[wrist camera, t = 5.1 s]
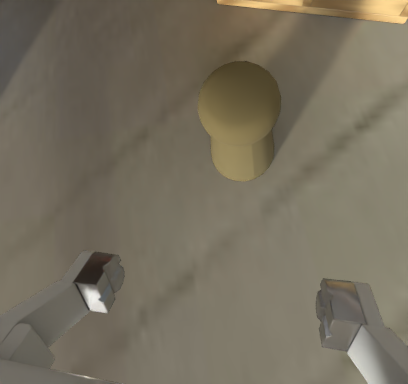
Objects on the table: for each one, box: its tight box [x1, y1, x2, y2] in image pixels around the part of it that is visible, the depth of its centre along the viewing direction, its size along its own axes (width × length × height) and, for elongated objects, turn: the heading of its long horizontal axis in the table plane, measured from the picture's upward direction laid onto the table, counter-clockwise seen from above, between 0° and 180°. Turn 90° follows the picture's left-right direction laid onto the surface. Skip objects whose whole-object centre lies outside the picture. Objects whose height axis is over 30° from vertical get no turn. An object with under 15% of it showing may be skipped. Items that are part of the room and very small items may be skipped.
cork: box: [198, 61, 281, 181], centre depth 21 cm, size 6×6×11 cm
